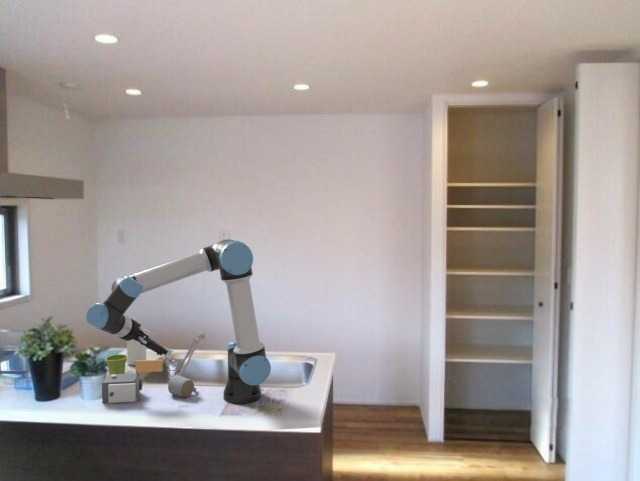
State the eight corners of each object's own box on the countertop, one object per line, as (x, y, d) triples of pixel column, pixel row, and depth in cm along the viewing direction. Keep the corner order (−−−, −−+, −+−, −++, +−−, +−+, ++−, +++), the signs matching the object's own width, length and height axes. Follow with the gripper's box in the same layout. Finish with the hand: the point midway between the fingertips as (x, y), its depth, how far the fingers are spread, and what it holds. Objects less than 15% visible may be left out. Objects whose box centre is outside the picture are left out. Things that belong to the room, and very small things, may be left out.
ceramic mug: (182, 400, 199) (182, 381, 199) (167, 396, 203) (167, 377, 203) (201, 392, 208) (201, 374, 208) (186, 388, 212) (186, 370, 212)
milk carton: (146, 360, 250) (145, 323, 249) (142, 365, 243) (141, 326, 242) (131, 360, 250) (131, 323, 249) (127, 365, 243) (126, 326, 242)
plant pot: (114, 381, 221) (114, 361, 220) (101, 377, 225) (100, 358, 225) (132, 375, 229) (132, 356, 228) (118, 371, 234) (118, 353, 233)
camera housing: (143, 391, 208) (143, 371, 207) (138, 401, 198) (138, 379, 197) (108, 393, 206) (108, 372, 205) (102, 402, 196) (101, 380, 195)
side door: (163, 399, 199) (162, 359, 198) (162, 401, 197) (161, 360, 196) (109, 401, 196) (108, 361, 195) (107, 403, 194) (107, 363, 193)
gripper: (98, 318, 182) (134, 335, 200) (137, 355, 169) (172, 370, 187) (111, 301, 184) (147, 320, 201) (151, 337, 171) (185, 353, 189)
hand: (159, 344), depth 194 cm, fingers open, 13 cm apart
